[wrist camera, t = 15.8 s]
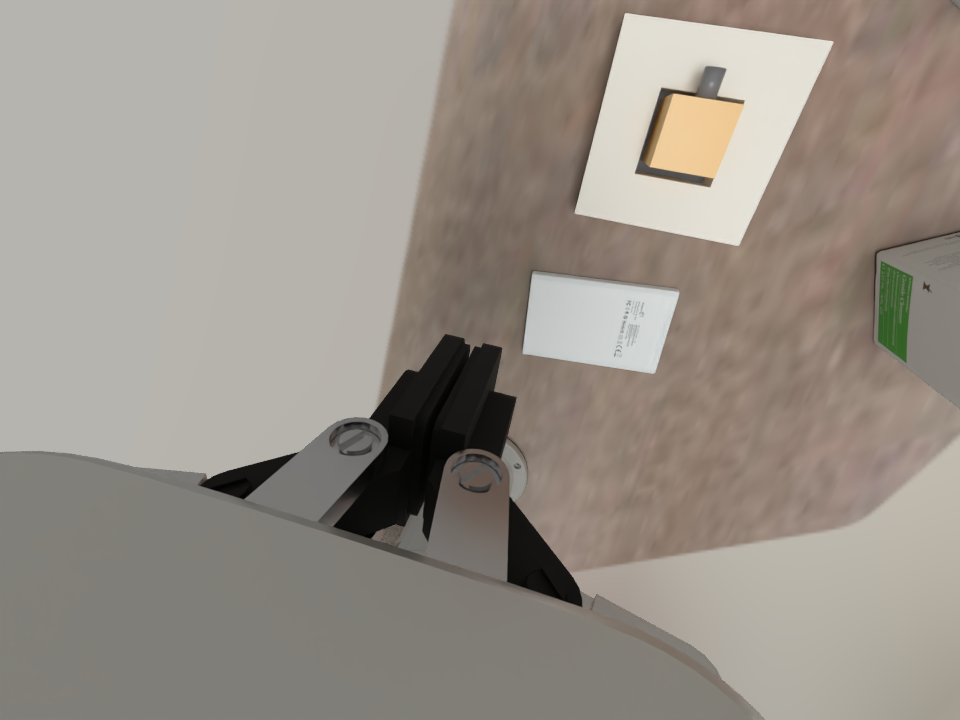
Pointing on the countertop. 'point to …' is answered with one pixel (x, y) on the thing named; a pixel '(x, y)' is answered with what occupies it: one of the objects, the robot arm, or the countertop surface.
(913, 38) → the countertop surface
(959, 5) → the glass holder
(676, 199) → the socket
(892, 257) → the skincare box
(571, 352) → the external hard drive
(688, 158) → the plug
